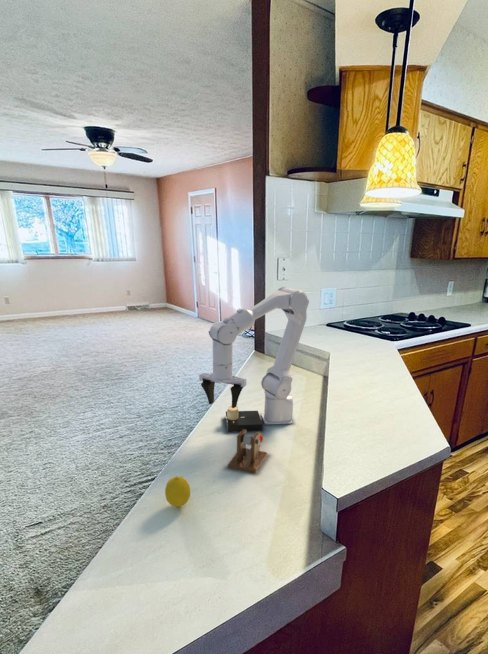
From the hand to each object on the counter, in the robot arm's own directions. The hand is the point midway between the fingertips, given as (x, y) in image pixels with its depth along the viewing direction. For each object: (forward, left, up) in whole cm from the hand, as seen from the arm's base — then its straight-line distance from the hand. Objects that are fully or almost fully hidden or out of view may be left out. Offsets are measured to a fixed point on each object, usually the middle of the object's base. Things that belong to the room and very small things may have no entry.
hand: (222, 404), depth 127 cm
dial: (-3, -5, -7) cm, 9 cm away
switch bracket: (-6, +19, -9) cm, 22 cm away
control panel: (-7, -5, -9) cm, 13 cm away
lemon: (+12, +37, -10) cm, 40 cm away
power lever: (-8, +16, -6) cm, 18 cm away
